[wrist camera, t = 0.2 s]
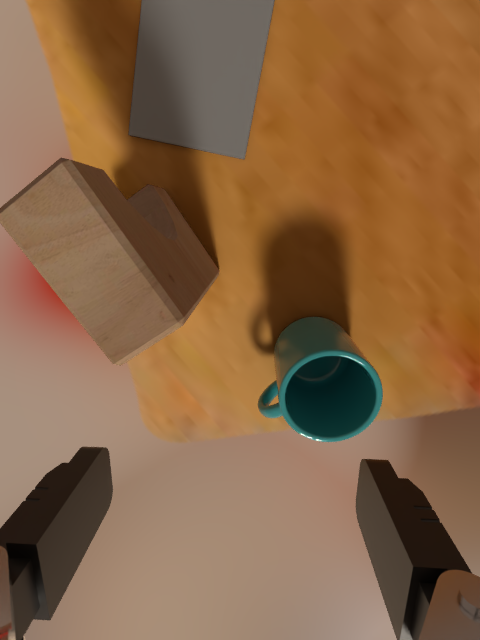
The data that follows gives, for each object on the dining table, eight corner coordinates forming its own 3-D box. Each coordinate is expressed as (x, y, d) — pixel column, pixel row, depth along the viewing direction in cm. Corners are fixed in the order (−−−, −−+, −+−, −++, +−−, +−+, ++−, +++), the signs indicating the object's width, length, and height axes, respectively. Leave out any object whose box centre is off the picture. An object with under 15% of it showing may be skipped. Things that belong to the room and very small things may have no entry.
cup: (238, 354, 42) (231, 401, 31) (325, 299, 40) (349, 330, 29) (279, 411, 44) (286, 473, 33) (365, 361, 42) (402, 411, 31)
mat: (149, -59, 32) (148, -62, 31) (280, -31, 32) (280, -34, 31) (129, 135, 36) (128, 134, 36) (244, 159, 36) (244, 158, 36)
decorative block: (122, 215, 38) (-13, 212, 19) (164, 185, 37) (65, 150, 18) (180, 299, 41) (111, 372, 22) (222, 273, 40) (187, 325, 20)
